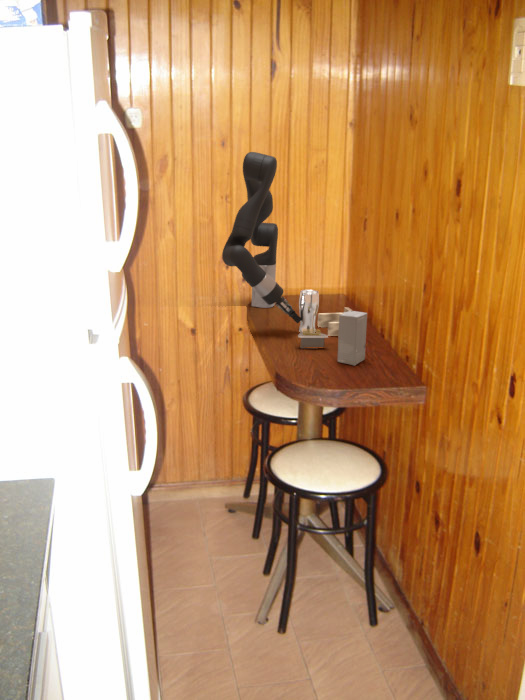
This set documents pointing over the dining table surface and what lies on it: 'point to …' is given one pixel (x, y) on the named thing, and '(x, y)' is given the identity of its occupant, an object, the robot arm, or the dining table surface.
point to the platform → (312, 338)
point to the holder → (330, 321)
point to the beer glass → (308, 309)
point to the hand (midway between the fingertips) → (299, 320)
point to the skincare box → (352, 337)
